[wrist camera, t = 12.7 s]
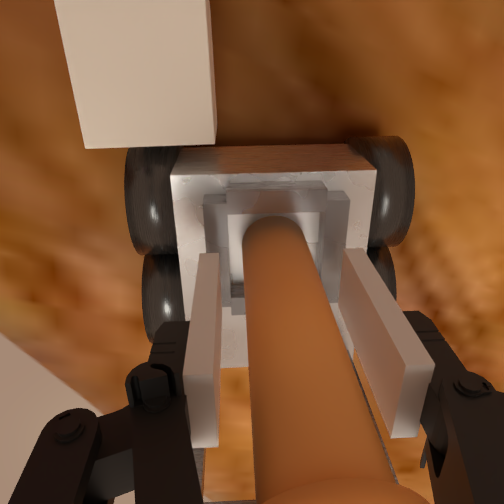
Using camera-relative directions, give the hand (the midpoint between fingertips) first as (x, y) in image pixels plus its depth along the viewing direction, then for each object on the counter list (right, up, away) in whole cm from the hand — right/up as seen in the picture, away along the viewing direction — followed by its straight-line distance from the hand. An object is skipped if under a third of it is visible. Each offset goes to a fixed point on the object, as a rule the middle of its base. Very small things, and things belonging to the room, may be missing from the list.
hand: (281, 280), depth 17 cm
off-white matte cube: (-6, +11, +6) cm, 14 cm away
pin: (0, +1, +3) cm, 3 cm away
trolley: (0, +3, +10) cm, 10 cm away
